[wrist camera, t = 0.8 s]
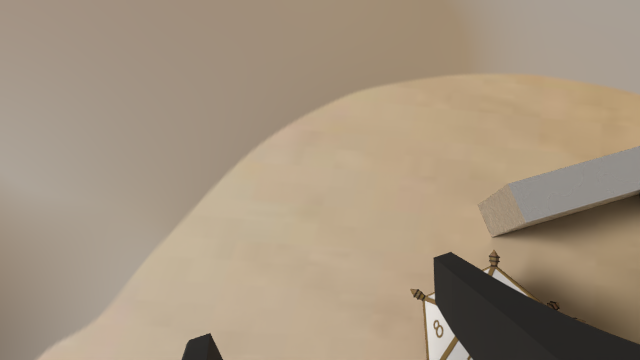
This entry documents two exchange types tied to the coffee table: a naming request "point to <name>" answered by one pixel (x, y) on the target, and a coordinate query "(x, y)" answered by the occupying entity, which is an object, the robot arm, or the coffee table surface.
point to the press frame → (563, 192)
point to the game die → (441, 343)
